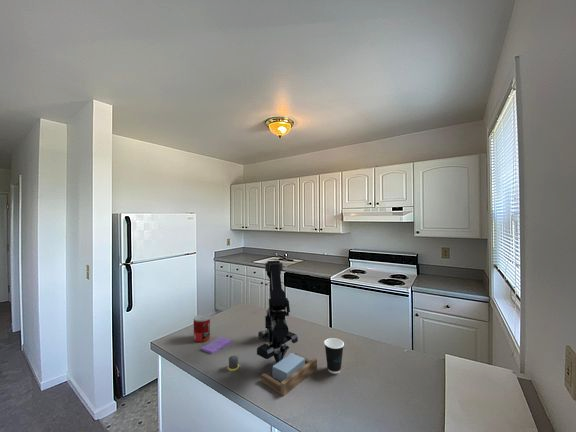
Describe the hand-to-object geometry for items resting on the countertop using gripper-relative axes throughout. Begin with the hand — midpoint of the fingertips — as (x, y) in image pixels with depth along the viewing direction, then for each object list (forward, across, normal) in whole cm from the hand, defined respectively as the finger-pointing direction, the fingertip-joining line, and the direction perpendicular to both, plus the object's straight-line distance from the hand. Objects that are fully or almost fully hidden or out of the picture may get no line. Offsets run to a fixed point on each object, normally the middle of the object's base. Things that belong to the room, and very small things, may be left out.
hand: (278, 365), depth 103 cm
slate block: (+2, -1, +5) cm, 5 cm away
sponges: (+2, +6, -35) cm, 35 cm away
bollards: (+2, 0, -14) cm, 14 cm away
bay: (+2, 0, +6) cm, 6 cm away
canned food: (+2, +7, -46) cm, 47 cm away
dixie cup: (+2, -14, +18) cm, 23 cm away
